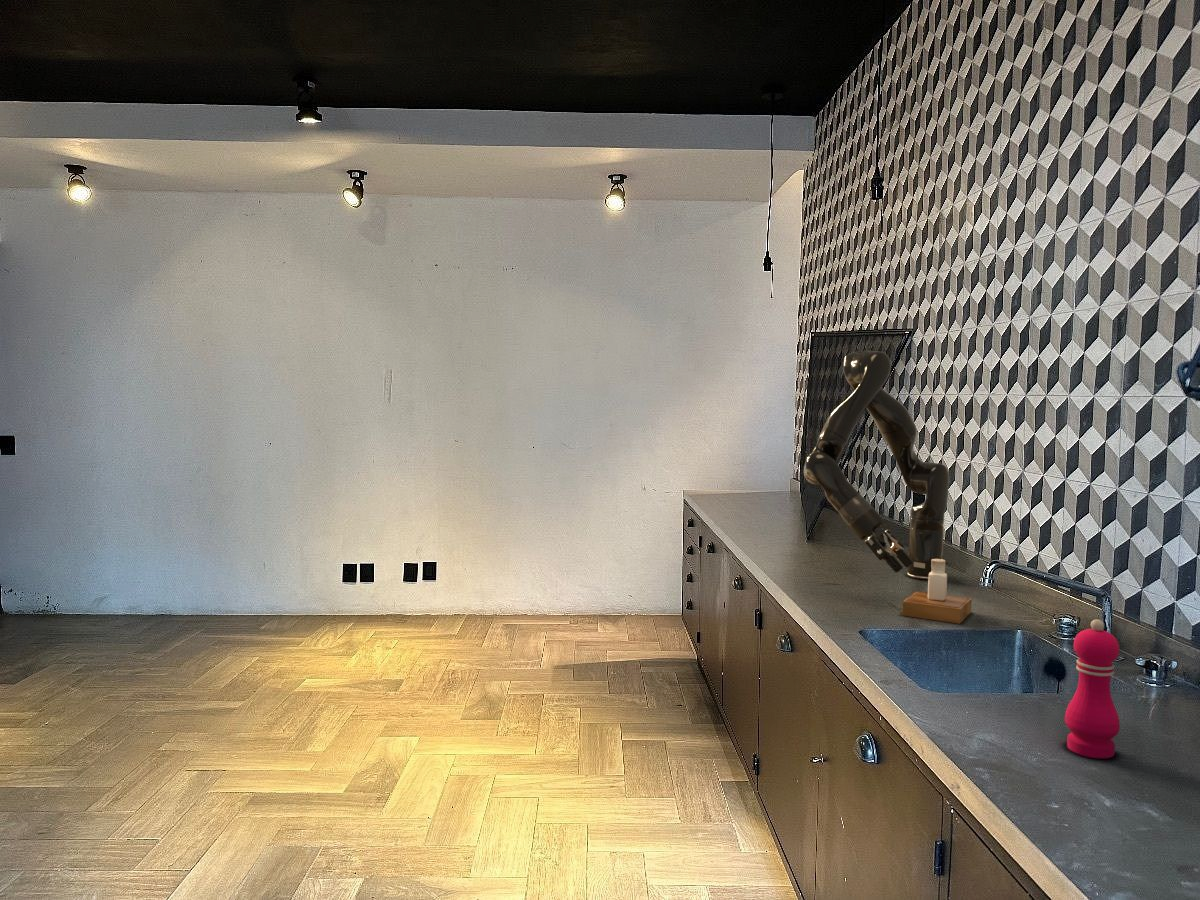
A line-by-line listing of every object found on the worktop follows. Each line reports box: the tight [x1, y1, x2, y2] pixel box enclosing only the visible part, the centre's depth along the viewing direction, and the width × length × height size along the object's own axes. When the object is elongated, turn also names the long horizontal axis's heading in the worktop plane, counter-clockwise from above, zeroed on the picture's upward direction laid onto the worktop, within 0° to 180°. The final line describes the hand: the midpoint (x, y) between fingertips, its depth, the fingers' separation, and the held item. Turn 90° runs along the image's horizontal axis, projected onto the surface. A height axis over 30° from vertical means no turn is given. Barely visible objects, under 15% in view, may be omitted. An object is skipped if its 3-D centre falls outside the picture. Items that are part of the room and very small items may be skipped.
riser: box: [902, 591, 972, 625], centre depth 219 cm, size 13×13×4 cm
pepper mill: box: [1064, 618, 1121, 760], centre depth 135 cm, size 7×7×20 cm
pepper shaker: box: [927, 558, 948, 601], centre depth 218 cm, size 4×4×10 cm
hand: (905, 567), depth 223 cm, fingers open, 8 cm apart
